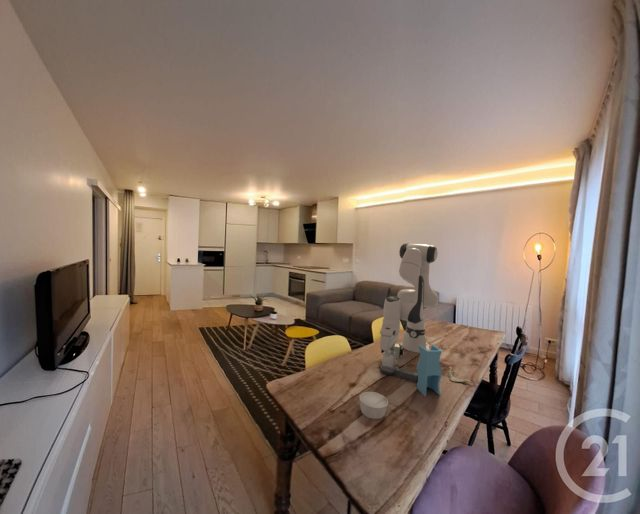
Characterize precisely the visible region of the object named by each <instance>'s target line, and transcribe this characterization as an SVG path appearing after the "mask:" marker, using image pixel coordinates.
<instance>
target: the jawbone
mask: <svg viewBox="0 0 640 514" xmlns="http://www.w3.org/2000/svg"><path fill="white" fill-rule="evenodd" d="M454 373H455V372H454V371H453V366H451V365H449V366H448V372H447V373H446V375H447V377H448V380H449V381H450V382H452V383H463V384H464V385H467V382H468V383H470V384H471V383H472V381H471V380H470V379H468V378H459V377H456V376H455V374H454Z"/></svg>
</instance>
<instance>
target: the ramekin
mask: <svg viewBox="0 0 640 514" xmlns="http://www.w3.org/2000/svg"><path fill="white" fill-rule="evenodd" d="M358 397H359V398H358V399H359V400H358V401H359V407H360V411H361V413H362V414H363V416H365V417H366V418H369V419H372V420H379V419H382V418H384V417H385V415H386V413H387V409H388V407H389V400H388V398H386V396H385V395H384V394H381V393H378V392H375V391H364V392H362V393H360V394H359V396H358Z"/></svg>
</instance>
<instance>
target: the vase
mask: <svg viewBox="0 0 640 514" xmlns="http://www.w3.org/2000/svg"><path fill="white" fill-rule="evenodd" d="M430 346H431V347H430V349H429V350H430V351H429V350H426V349H425V348H423V347H422V346H420V345H418V347H419V352H418V353H419V359H418V363H417V364H416V373H418V382H416V389H417V390H418V391H419V392H420V393H421V394H422V396H424V397H426V396H427V388H429V389H431V390H433V391H434V392H435V393H436V394H437V395H439V396H441V391H440V383H441V382H440V381H441V379H442V376H443V373H442V369H441V364H440V359H441V355H442V352H443V351H442V349H441V348H439V347H437V346H435V345H434V344H431V345H430Z"/></svg>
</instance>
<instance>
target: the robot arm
mask: <svg viewBox="0 0 640 514" xmlns="http://www.w3.org/2000/svg"><path fill="white" fill-rule="evenodd" d="M438 252H439V251H438V248H437V247H436V246H435V245H432V244H430V245H429V244H424V243H409V242H408V243H403V244H401V246H400V248H399V257H400V258H401V261H400V265H399V269H398V272H399V276H400V277H401V278H402V280H404V281H405V282H406V283H408V284H410V285H411V286H413V287H414V289H411V288H410V289H409V288H408V289H407V288H404V289H400V290H399V291H398V292H397V295H396V296H395V295H393V296H388V297H385V299H384V304H383V310H382V311H383V312H382V313H383V318H382V325H381V328H380V330H379V334H380V351H381V350H384V353H385V357H388V356H389V352H388V351H389V349H390V350H391V351H394V347H395V344H397V342H398V341H399V333H400V330H401V321H406V326H405V332H404V333H403V334H402V335H403V336H402V341H401V342H400V343H399V344H400V346H401V347H403V349H404V350H407V351H409V352H414V353H420V352H419V347H418V345H420V346H422V347H423V348H425V349H426V350H429V351H431V349H430V344H429V343H428V342H427V340H428V339H427V336H426V316H425V308H428V309H429V308H436V307H437V306H438V304H439V302H440V298H439V295H438V294H437V292H436V291H434V290H433V289H432V287H431V284H430V264H432V263H434V262H435V261H436V260H437V257H438V255H439V253H438ZM400 320H401V321H400Z"/></svg>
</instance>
